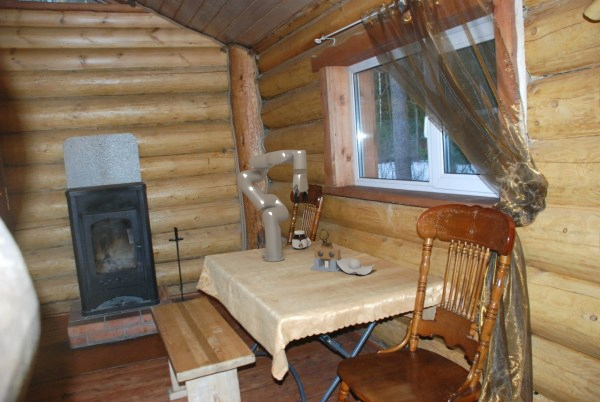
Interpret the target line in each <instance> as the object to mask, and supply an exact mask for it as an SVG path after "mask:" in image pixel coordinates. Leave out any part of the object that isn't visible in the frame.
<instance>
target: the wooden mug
mask: <svg viewBox="0 0 600 402" xmlns="http://www.w3.org/2000/svg"><path fill="white" fill-rule="evenodd" d="M318 237H319V239H320V240H322V242H321V245H320V248H331V249H334V246H333V243H332V242H330V241H329V242H328V238H329V237H330V234H329V232H328V230H326V229H325V228H322V229H321V230H320V231H319V232H318ZM326 260H331V259H325V261H326Z"/></svg>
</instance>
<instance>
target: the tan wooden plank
mask: <svg viewBox="0 0 600 402" xmlns="http://www.w3.org/2000/svg"><path fill="white" fill-rule="evenodd" d="M313 251H314V258H323V259H336V260H338V259H340V258H341V259H342V257H341V256H342V254H341V248H333V249H331V248H321V247H316V248H314V250H313Z"/></svg>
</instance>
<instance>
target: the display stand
mask: <svg viewBox="0 0 600 402" xmlns="http://www.w3.org/2000/svg"><path fill="white" fill-rule="evenodd" d="M340 259H342V257H341V258H340ZM340 259H338V260H340ZM310 271H320V272H329V271H330V272H331V273H339V272H340V271H343V270H342V269H341V268H340V267H339V266H338V264H337V262H336V259H331V260H326V261H325V259H323V258H315V257H314V258H313V266H311V267H310Z"/></svg>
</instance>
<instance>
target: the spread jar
mask: <svg viewBox="0 0 600 402" xmlns="http://www.w3.org/2000/svg"><path fill="white" fill-rule="evenodd" d="M293 233H294V234H293V235H292V238H291V244H292V245H291V246H292V248H293V249H294V250H297V251H301V250H302V251H303V250H305V249H306V248H309V247H310V246H311V245H312V241H311V239H310V238H309V237H308V236H307V235H306V234H305V230H295V231H294V232H293Z"/></svg>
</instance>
